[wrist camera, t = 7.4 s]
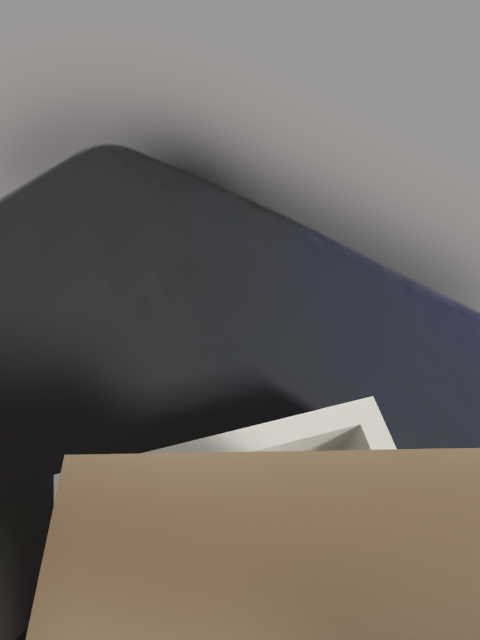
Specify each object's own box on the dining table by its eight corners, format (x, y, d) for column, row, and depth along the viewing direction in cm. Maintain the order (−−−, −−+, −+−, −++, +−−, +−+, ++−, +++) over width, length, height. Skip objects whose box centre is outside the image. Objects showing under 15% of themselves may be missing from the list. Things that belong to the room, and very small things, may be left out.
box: (484, 781, 12) (582, 868, 8) (116, 925, 10) (56, 1096, 7) (346, 430, 17) (372, 396, 14) (93, 495, 16) (53, 474, 12)
